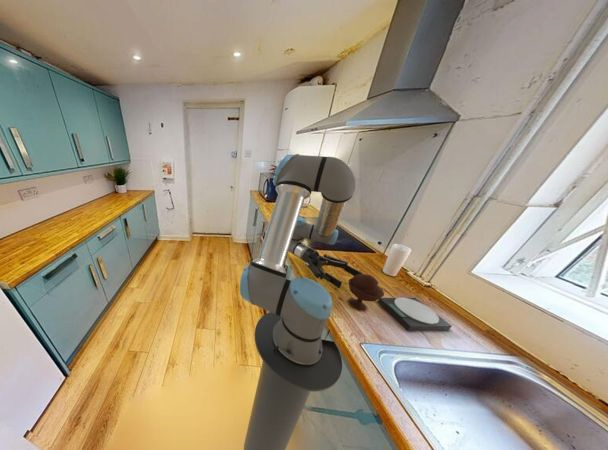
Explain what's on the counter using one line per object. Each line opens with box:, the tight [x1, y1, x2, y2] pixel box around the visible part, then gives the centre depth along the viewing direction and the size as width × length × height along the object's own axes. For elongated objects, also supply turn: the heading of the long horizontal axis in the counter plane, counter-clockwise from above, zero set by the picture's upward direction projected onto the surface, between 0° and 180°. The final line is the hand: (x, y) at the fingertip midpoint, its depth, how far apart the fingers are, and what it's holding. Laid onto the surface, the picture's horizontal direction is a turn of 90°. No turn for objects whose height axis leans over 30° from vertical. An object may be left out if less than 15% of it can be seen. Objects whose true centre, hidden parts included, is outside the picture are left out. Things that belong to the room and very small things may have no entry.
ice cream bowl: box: [348, 273, 385, 311], centre depth 76 cm, size 11×11×15 cm
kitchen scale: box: [377, 297, 452, 332], centre depth 74 cm, size 15×13×3 cm
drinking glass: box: [382, 243, 412, 277], centre depth 95 cm, size 7×7×15 cm
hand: (351, 280), depth 80 cm, fingers open, 13 cm apart
